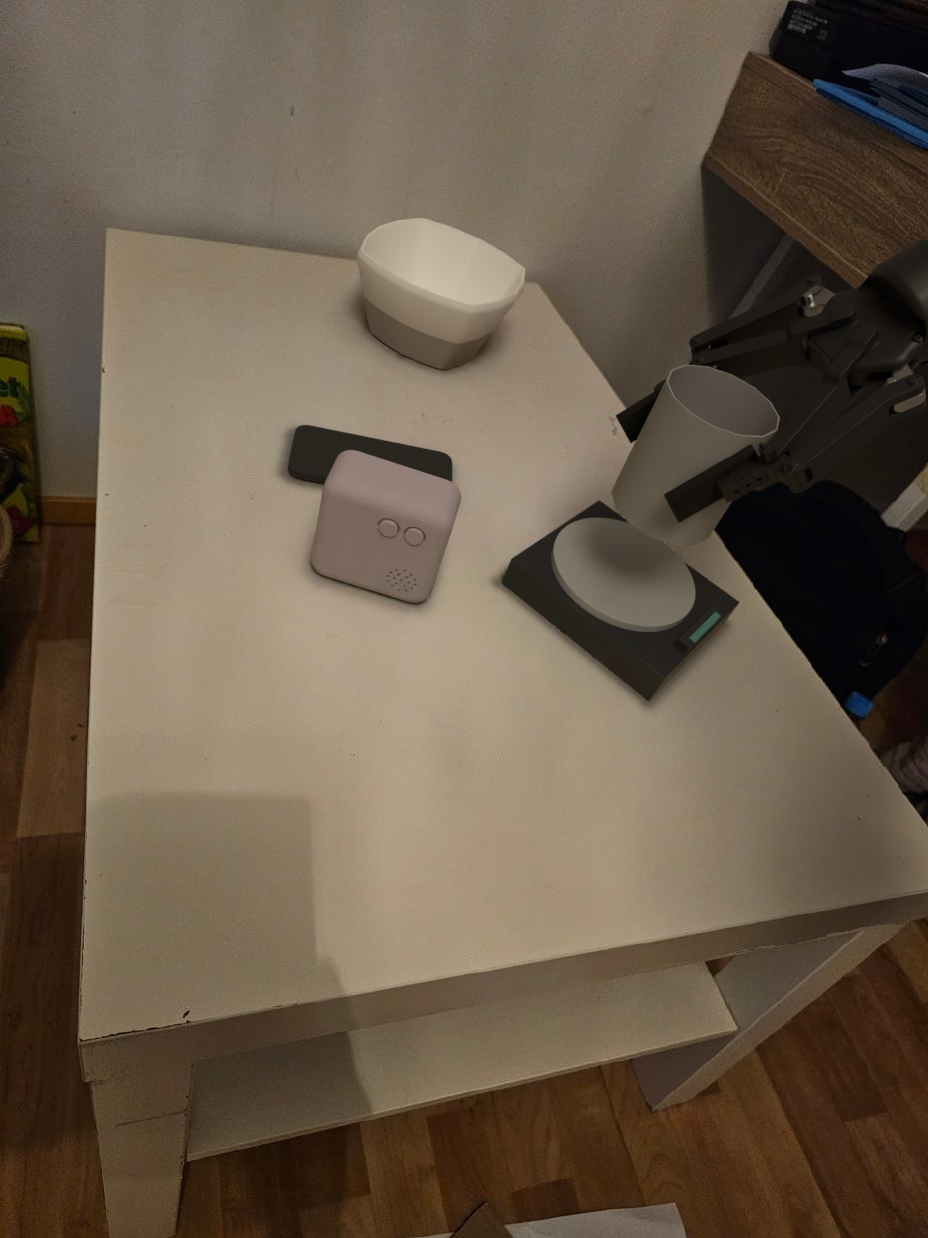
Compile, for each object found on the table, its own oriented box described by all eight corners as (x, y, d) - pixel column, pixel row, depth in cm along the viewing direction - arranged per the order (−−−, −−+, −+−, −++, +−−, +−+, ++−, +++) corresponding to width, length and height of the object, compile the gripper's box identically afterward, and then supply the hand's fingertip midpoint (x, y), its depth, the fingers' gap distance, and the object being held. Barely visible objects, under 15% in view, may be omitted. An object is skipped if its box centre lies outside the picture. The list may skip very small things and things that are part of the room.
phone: (297, 421, 78) (452, 453, 81) (296, 429, 79) (450, 459, 82) (286, 470, 73) (452, 501, 76) (285, 477, 74) (450, 508, 77)
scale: (723, 623, 76) (745, 593, 73) (648, 701, 67) (670, 670, 64) (587, 522, 81) (603, 491, 78) (501, 582, 72) (515, 549, 69)
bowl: (319, 328, 92) (332, 245, 85) (399, 281, 104) (415, 205, 97) (457, 401, 89) (481, 322, 82) (523, 344, 101) (548, 270, 95)
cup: (702, 561, 61) (773, 453, 54) (601, 514, 62) (657, 401, 55) (718, 501, 67) (783, 397, 60) (625, 459, 68) (679, 351, 61)
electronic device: (304, 577, 66) (321, 480, 59) (320, 540, 70) (338, 444, 63) (424, 615, 67) (454, 523, 60) (435, 576, 70) (465, 485, 63)
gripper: (1058, 418, 52) (723, 598, 57) (870, 252, 64) (611, 412, 70) (1066, 333, 46) (693, 541, 52) (858, 169, 59) (577, 351, 64)
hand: (646, 467), depth 61 cm, fingers closed on cup, 8 cm apart
